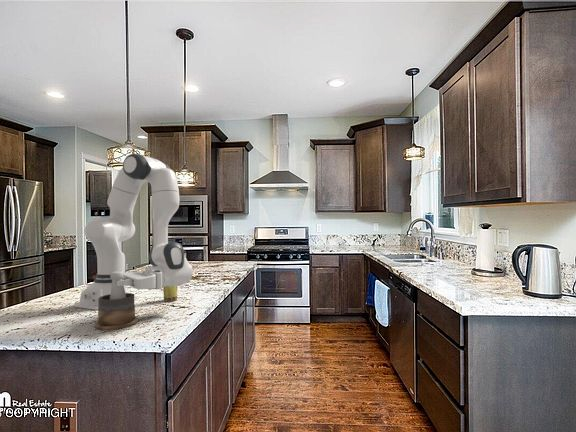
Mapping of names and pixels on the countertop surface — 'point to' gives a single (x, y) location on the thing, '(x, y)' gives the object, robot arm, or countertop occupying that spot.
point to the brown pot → (116, 313)
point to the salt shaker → (117, 291)
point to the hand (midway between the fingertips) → (114, 282)
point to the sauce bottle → (170, 293)
